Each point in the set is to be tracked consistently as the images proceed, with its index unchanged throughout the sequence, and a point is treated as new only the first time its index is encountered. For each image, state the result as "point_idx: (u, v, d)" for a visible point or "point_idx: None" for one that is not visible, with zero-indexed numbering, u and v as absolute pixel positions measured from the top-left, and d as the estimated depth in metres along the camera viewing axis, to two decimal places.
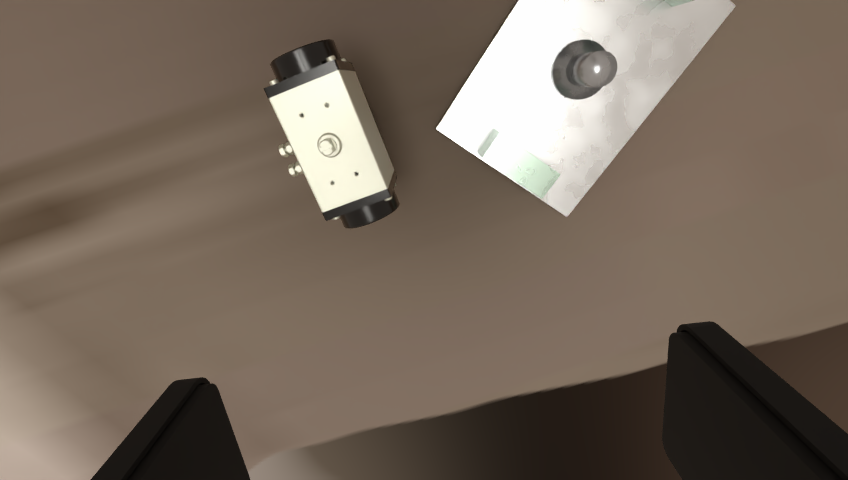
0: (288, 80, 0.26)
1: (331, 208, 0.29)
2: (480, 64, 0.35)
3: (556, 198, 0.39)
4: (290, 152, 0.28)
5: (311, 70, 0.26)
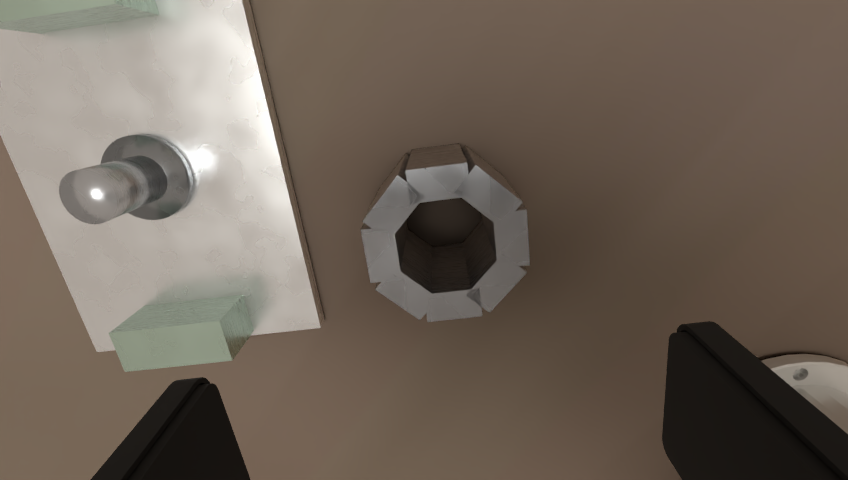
0: None
1: None
2: (257, 80, 0.21)
3: None
4: None
5: None
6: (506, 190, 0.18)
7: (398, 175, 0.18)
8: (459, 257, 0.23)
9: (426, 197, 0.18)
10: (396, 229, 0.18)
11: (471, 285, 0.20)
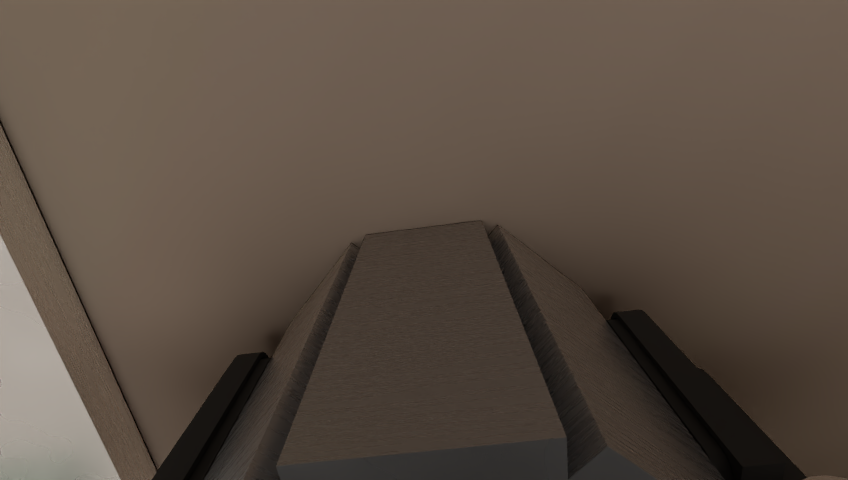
0: None
1: None
2: None
3: None
4: None
5: None
6: None
7: (251, 474, 0.04)
8: None
9: None
10: None
11: None
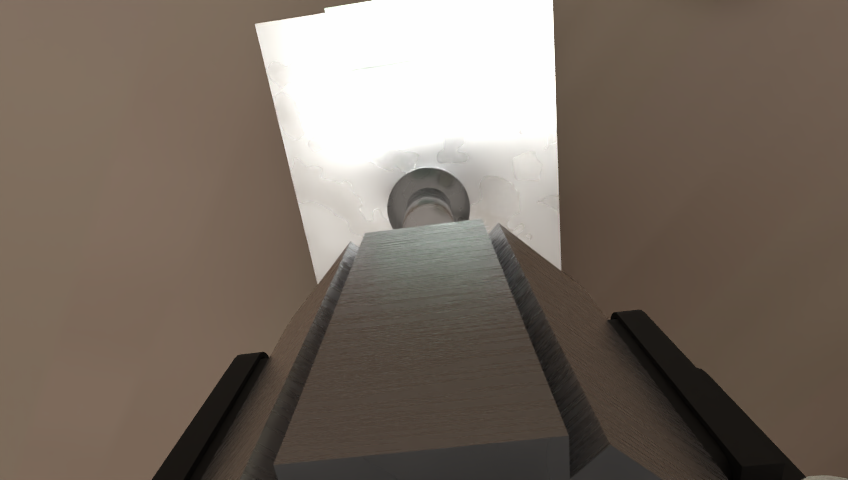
0: None
1: None
2: (552, 115, 0.22)
3: (297, 37, 0.21)
4: None
5: None
6: None
7: (248, 473, 0.04)
8: None
9: None
10: None
11: None
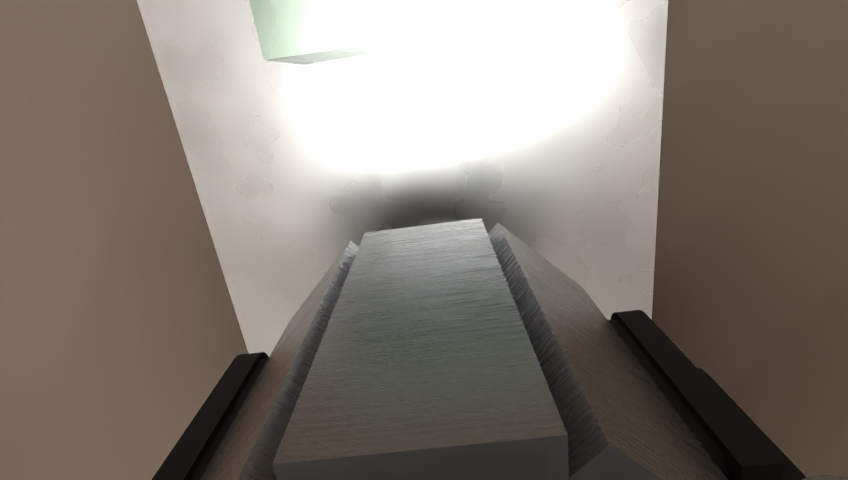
0: None
1: None
2: (654, 141, 0.13)
3: (207, 2, 0.12)
4: None
5: None
6: None
7: (246, 472, 0.04)
8: None
9: None
10: None
11: None
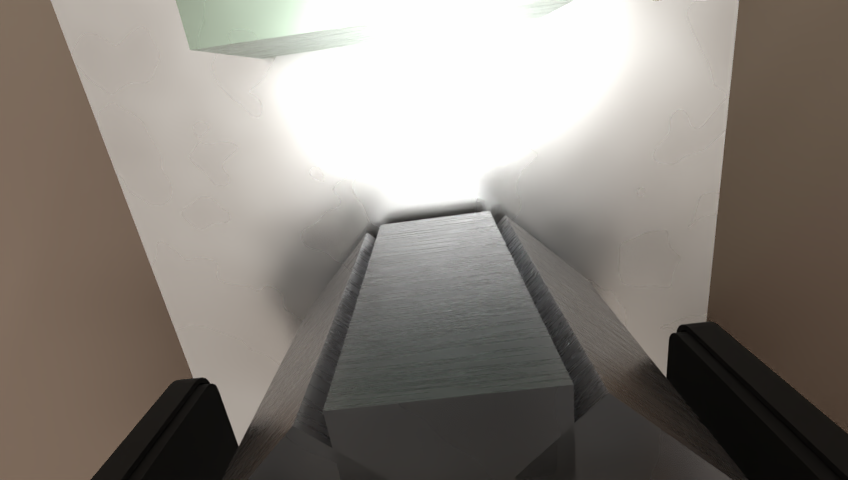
0: None
1: None
2: (715, 156, 0.10)
3: None
4: None
5: None
6: (713, 470, 0.05)
7: (299, 420, 0.05)
8: None
9: None
10: None
11: None
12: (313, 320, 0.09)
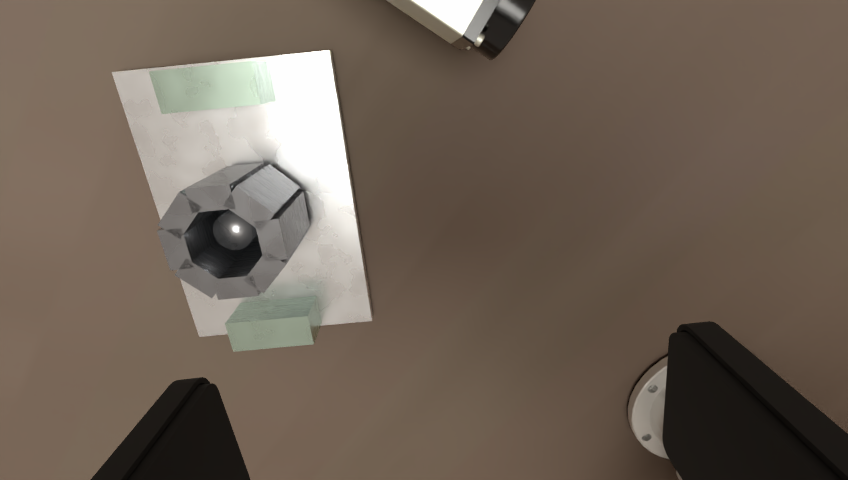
0: None
1: None
2: (341, 147, 0.30)
3: (144, 83, 0.28)
4: None
5: (492, 9, 0.18)
6: (261, 204, 0.25)
7: (180, 192, 0.24)
8: None
9: (202, 208, 0.25)
10: (183, 231, 0.25)
11: (249, 273, 0.26)
12: None
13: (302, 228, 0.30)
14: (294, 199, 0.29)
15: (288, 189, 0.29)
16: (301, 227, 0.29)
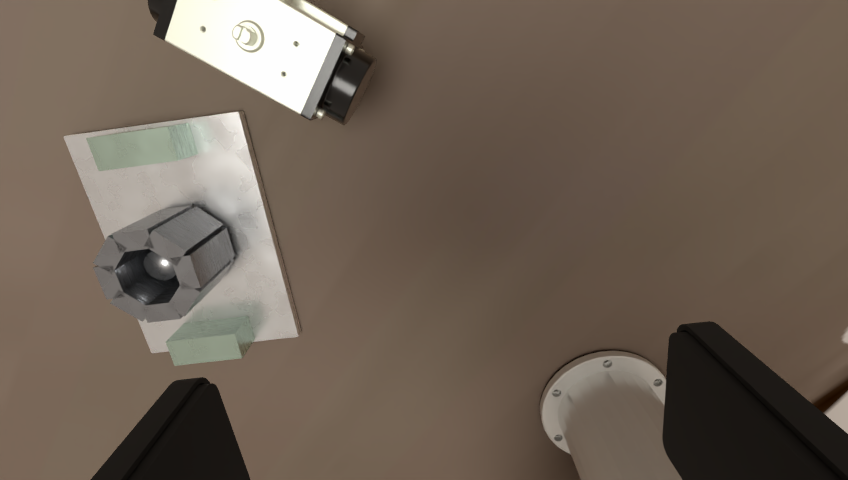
0: (331, 67, 0.23)
1: None
2: (256, 189, 0.35)
3: None
4: None
5: (320, 93, 0.24)
6: (174, 244, 0.30)
7: (109, 236, 0.30)
8: None
9: (127, 248, 0.30)
10: (114, 267, 0.31)
11: None
12: None
13: (224, 259, 0.35)
14: (214, 236, 0.34)
15: (209, 227, 0.34)
16: (222, 259, 0.35)
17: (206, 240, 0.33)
